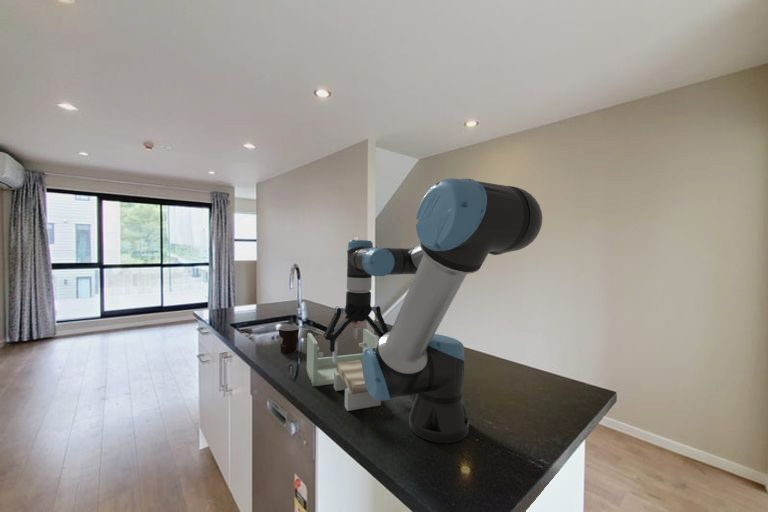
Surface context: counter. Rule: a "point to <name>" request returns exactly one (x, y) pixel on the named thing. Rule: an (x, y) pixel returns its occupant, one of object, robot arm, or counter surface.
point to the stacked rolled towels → (352, 375)
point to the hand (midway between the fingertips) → (356, 359)
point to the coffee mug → (288, 338)
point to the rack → (354, 396)
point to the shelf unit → (330, 359)
